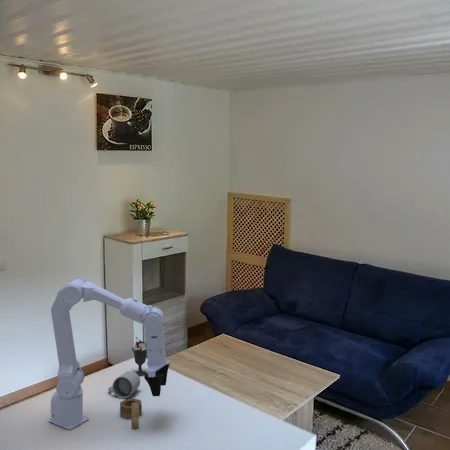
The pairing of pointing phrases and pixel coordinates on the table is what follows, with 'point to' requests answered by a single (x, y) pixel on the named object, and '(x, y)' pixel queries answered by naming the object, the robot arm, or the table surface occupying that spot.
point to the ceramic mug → (125, 384)
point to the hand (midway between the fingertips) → (159, 390)
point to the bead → (129, 408)
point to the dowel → (135, 416)
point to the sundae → (140, 355)
